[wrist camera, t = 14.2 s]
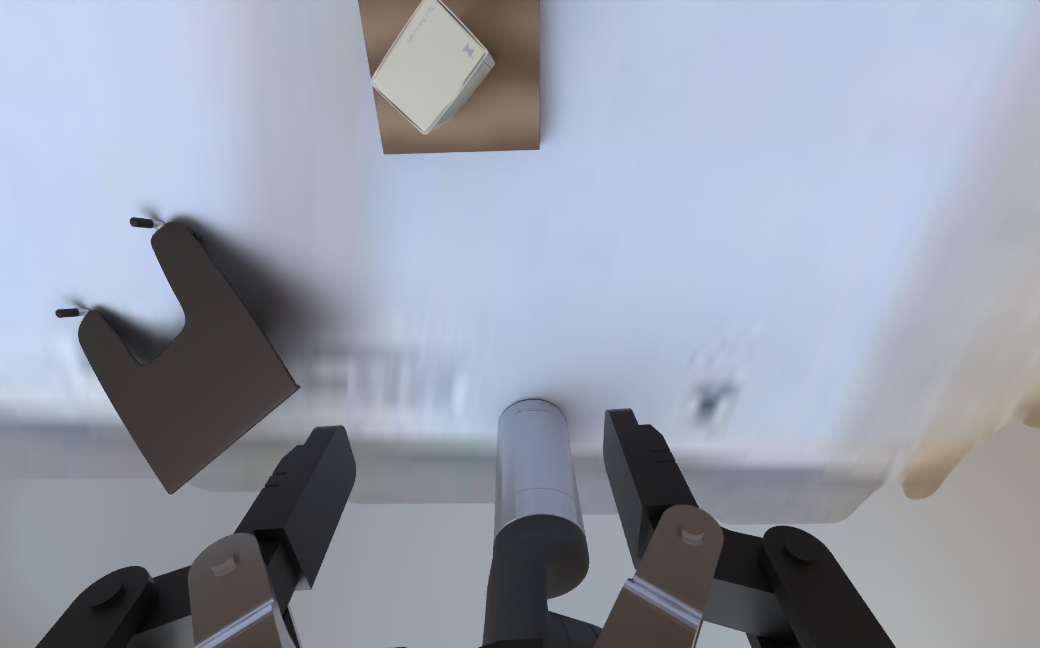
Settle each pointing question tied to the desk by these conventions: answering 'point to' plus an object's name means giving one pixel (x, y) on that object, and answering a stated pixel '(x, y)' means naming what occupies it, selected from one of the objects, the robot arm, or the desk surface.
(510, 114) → the walnut stand
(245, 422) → the portable electronic device stand
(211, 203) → the desk surface
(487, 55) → the skincare box
